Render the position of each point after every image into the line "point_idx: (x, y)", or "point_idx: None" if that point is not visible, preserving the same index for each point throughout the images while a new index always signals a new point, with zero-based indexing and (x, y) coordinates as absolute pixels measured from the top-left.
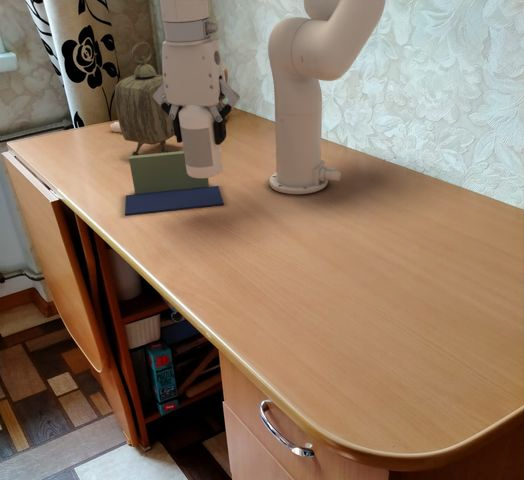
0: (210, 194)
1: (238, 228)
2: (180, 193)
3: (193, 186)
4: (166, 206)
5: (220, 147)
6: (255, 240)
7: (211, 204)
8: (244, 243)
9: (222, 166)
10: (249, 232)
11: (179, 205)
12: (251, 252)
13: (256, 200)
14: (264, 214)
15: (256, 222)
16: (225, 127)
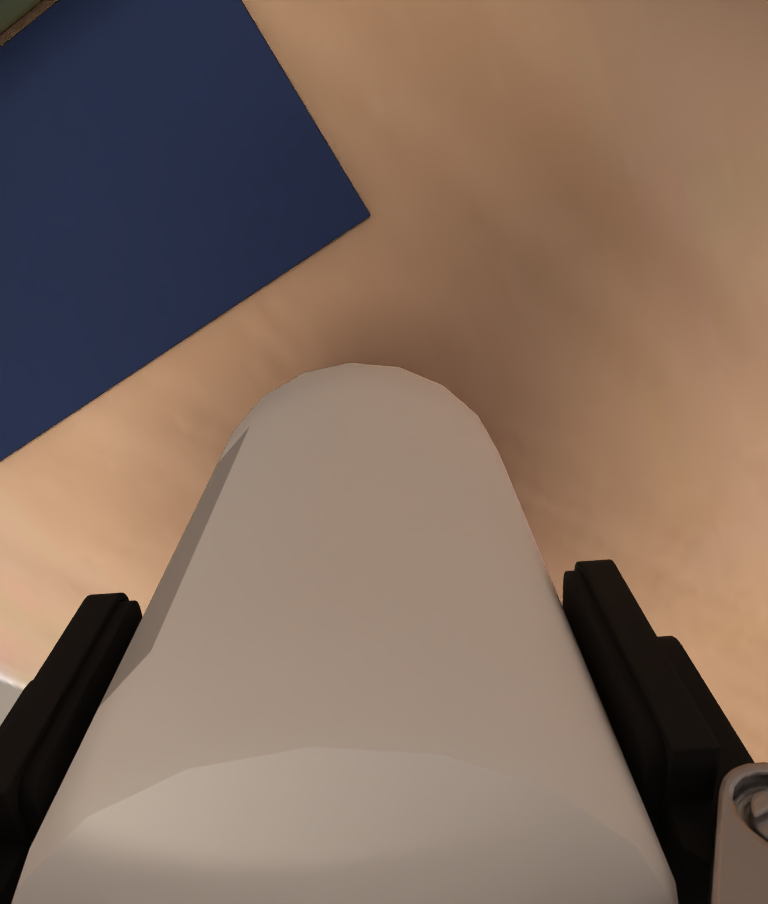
0: (217, 101)
1: (565, 462)
2: (10, 150)
3: (20, 4)
4: (64, 365)
5: (536, 544)
6: (680, 543)
7: (306, 255)
8: (639, 580)
9: (502, 462)
10: (631, 484)
11: (129, 330)
12: (690, 635)
13: (548, 70)
14: (655, 265)
15: (636, 374)
16: (712, 707)
